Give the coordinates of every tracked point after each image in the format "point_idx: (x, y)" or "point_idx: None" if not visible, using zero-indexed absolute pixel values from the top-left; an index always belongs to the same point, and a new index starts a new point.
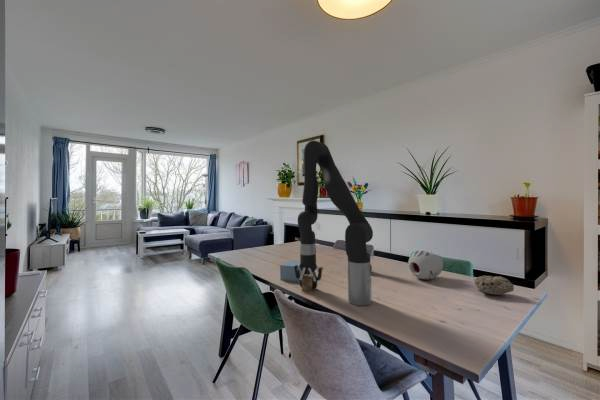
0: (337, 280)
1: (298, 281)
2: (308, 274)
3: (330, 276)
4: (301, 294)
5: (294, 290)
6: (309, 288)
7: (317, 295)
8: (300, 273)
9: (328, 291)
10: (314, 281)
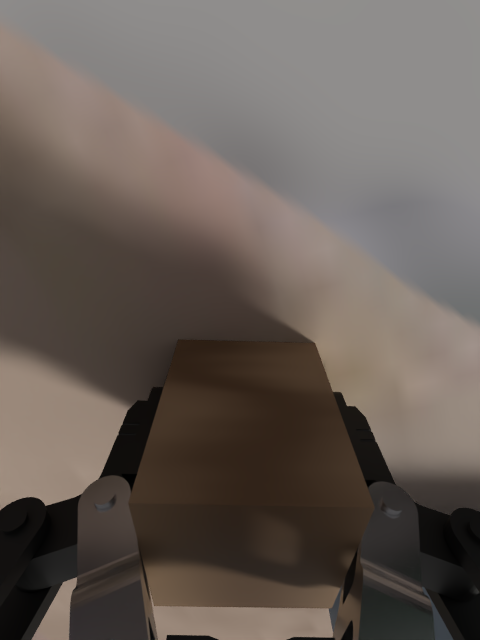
0: None
1: None
2: (333, 615)
3: (169, 613)
4: (286, 208)
5: (414, 322)
6: (207, 364)
7: (47, 239)
8: None
9: (6, 391)
10: (126, 479)
